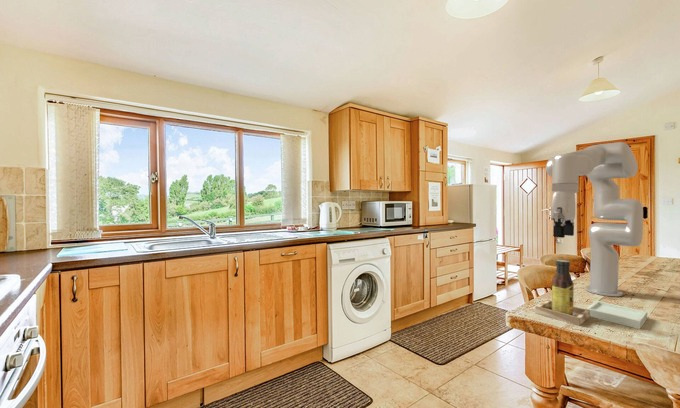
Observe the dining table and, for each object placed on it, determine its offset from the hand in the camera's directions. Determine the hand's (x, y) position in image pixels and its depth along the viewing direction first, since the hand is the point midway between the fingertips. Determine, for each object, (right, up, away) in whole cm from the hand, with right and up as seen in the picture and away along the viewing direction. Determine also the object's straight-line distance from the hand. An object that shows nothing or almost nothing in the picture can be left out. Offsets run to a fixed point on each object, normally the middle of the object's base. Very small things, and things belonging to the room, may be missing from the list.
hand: (563, 236), depth 106 cm
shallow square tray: (+18, -29, -1) cm, 34 cm away
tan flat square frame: (0, -29, +1) cm, 29 cm away
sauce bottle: (0, -29, +1) cm, 29 cm away
